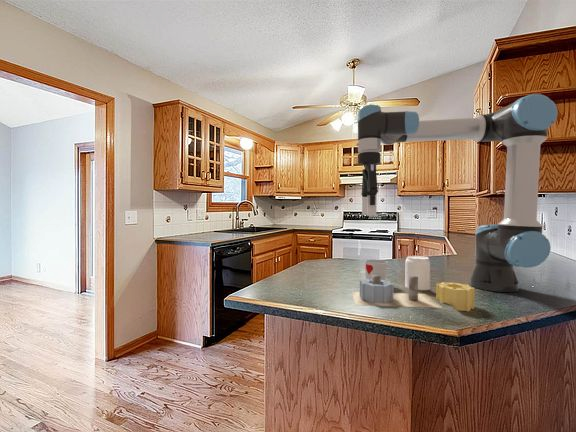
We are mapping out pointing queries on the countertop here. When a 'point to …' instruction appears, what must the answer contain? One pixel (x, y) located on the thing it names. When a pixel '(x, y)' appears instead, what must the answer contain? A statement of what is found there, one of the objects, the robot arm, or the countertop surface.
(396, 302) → the gear board
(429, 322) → the countertop surface
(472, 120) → the robot arm
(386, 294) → the gear
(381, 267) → the cup
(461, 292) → the gear
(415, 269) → the beverage can
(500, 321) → the countertop surface
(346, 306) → the countertop surface
